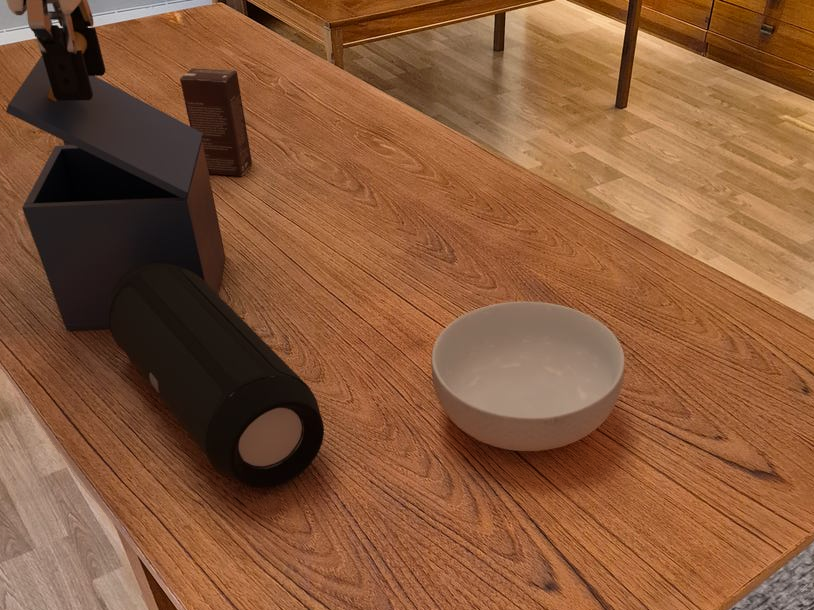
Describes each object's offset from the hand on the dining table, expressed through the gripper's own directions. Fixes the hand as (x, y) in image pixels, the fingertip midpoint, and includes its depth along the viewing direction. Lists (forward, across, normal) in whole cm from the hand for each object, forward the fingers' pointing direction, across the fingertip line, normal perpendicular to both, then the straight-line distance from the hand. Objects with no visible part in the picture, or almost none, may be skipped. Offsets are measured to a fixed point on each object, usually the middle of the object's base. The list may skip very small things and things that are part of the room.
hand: (81, 84), depth 80 cm
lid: (+4, 0, +2) cm, 4 cm away
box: (+22, -30, +7) cm, 38 cm away
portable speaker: (+21, +22, +11) cm, 32 cm away
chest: (+22, 0, +2) cm, 22 cm away
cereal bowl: (+21, +25, +38) cm, 50 cm away
